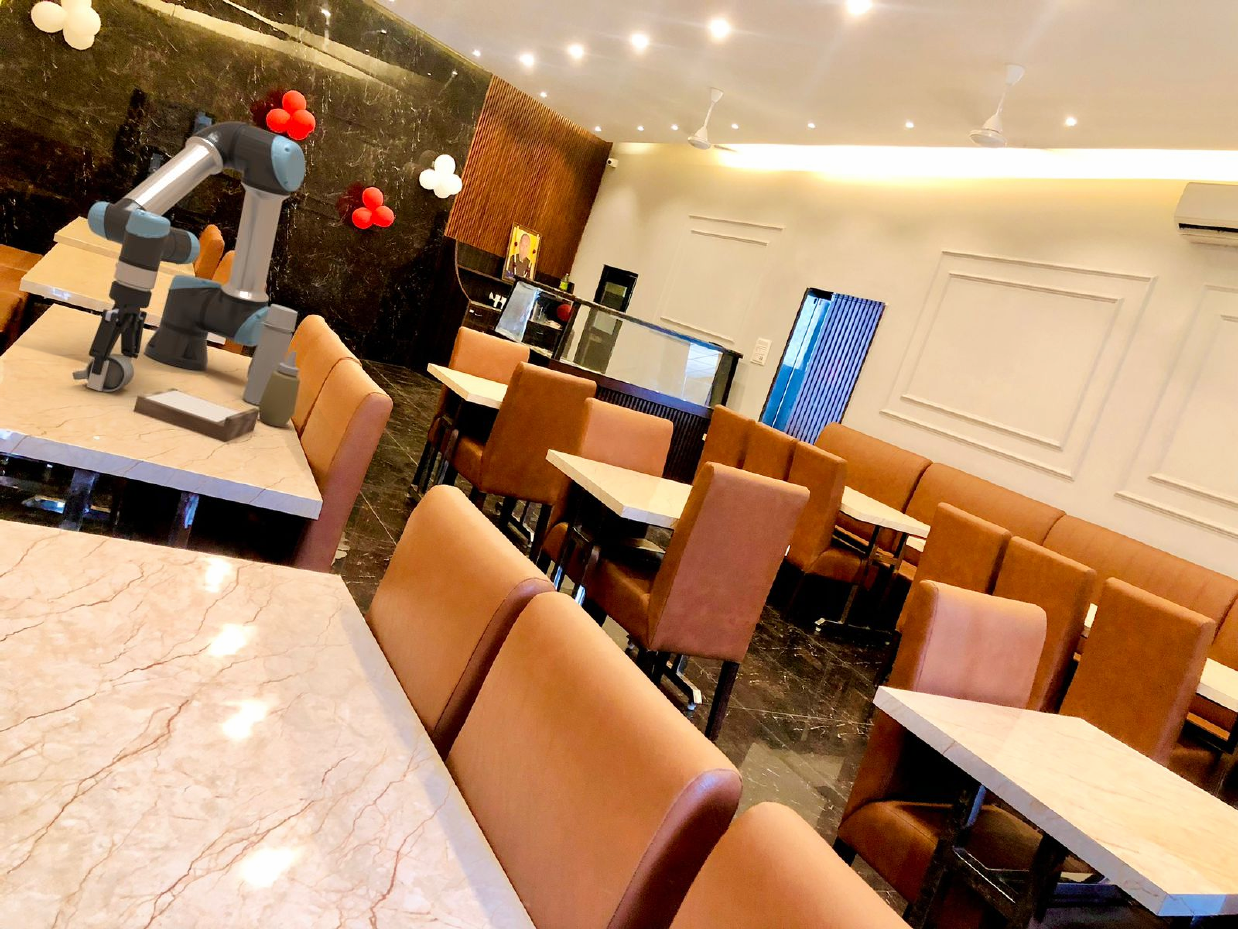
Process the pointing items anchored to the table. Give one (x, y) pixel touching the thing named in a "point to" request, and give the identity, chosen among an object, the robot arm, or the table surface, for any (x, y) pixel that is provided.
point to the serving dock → (198, 419)
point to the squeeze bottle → (280, 394)
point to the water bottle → (269, 350)
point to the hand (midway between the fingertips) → (106, 386)
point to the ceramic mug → (111, 373)
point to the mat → (193, 405)
